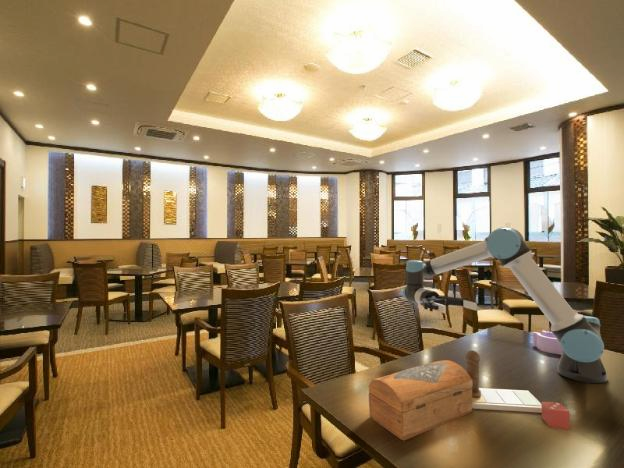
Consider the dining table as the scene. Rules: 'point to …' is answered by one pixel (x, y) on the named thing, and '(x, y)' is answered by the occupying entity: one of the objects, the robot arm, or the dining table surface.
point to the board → (507, 400)
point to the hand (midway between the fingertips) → (460, 308)
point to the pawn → (474, 371)
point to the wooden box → (420, 398)
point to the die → (555, 415)
